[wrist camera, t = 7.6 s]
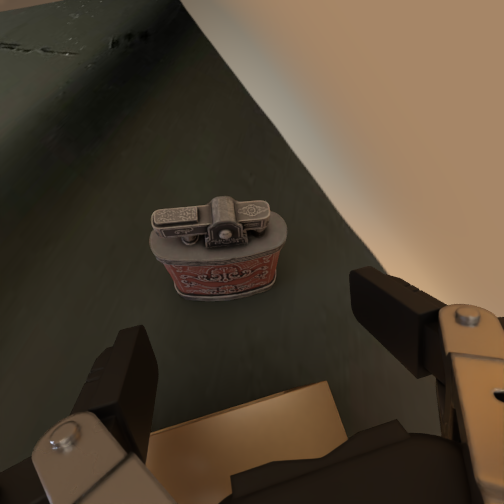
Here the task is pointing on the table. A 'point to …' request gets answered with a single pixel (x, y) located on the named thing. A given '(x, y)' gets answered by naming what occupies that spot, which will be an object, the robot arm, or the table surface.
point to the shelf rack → (243, 441)
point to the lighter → (219, 248)
